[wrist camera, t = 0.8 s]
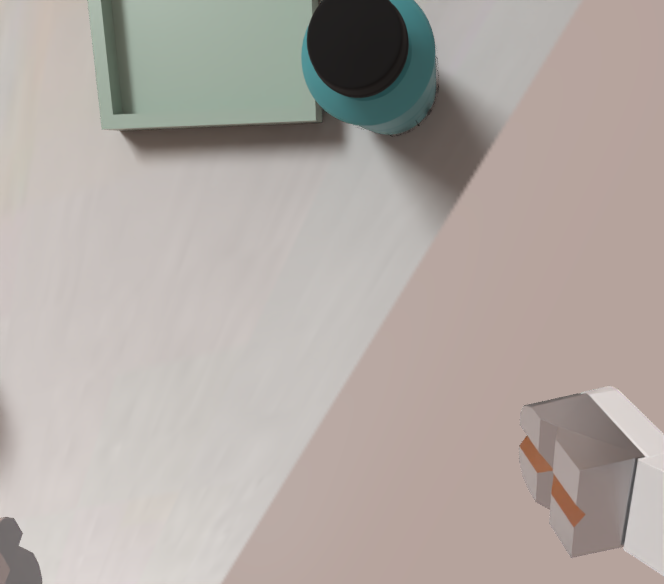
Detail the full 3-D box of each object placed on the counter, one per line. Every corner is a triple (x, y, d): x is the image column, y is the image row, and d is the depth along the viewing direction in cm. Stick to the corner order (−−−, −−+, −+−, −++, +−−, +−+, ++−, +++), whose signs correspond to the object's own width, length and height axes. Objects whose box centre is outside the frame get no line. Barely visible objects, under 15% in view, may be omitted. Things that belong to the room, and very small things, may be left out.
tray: (94, -101, 43) (74, -117, 40) (314, -126, 40) (306, -144, 38) (119, 130, 46) (101, 129, 44) (322, 122, 44) (315, 120, 41)
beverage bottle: (439, 134, 42) (445, 118, 23) (347, 140, 44) (279, 131, 24) (437, 36, 41) (440, -67, 22) (341, 46, 42) (265, -44, 23)
